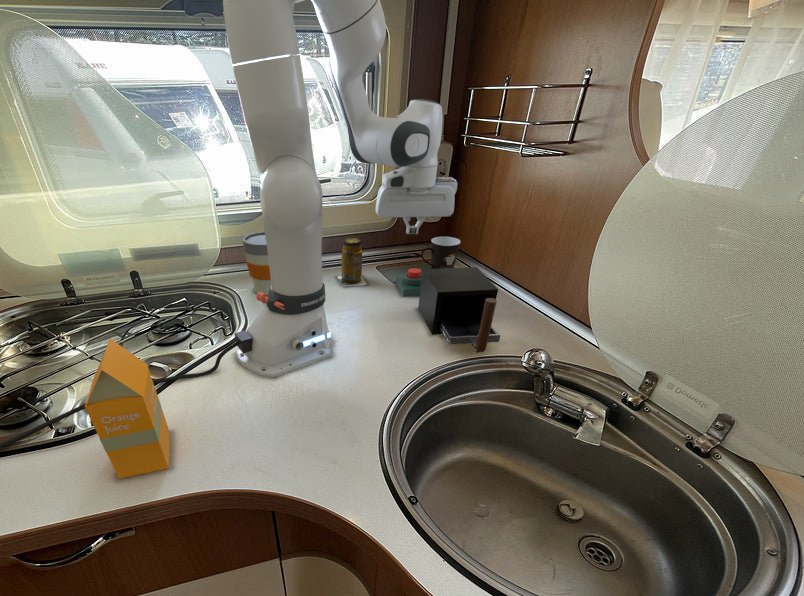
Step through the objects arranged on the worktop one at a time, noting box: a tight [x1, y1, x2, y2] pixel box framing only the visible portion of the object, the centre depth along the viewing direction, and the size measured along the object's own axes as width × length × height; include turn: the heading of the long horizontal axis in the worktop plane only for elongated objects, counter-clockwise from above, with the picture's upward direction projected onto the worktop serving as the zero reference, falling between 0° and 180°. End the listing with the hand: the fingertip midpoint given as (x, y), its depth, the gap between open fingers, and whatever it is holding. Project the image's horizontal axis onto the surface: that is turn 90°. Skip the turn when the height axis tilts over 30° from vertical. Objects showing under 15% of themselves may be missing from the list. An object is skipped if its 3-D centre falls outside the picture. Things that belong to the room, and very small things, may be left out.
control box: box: [395, 271, 422, 297], centre depth 122 cm, size 10×8×4 cm
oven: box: [417, 266, 499, 336], centre depth 104 cm, size 14×14×11 cm
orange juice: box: [85, 337, 171, 480], centre depth 64 cm, size 8×9×20 cm
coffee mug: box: [420, 236, 461, 269], centre depth 130 cm, size 12×9×10 cm
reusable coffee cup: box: [242, 231, 271, 295], centre depth 120 cm, size 13×13×15 cm
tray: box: [438, 298, 501, 354], centre depth 93 cm, size 16×11×12 cm
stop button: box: [407, 267, 422, 279], centre depth 120 cm, size 4×4×2 cm
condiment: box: [336, 237, 368, 288], centre depth 125 cm, size 7×8×12 cm
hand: (411, 233), depth 114 cm, fingers closed
